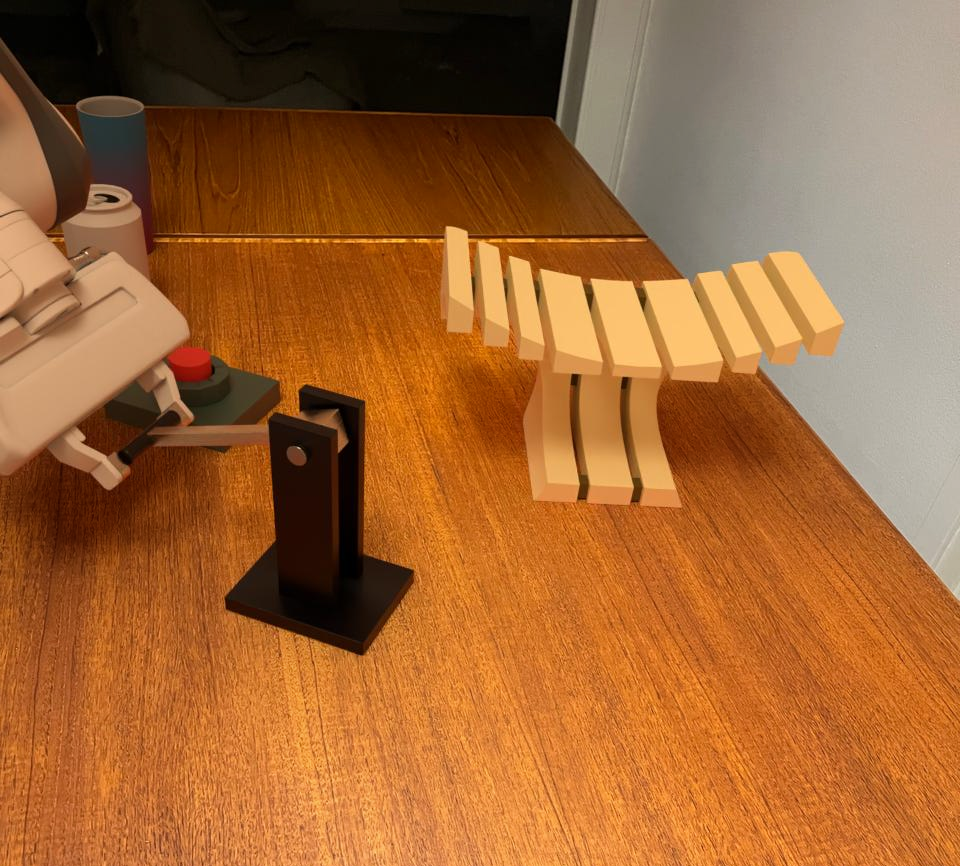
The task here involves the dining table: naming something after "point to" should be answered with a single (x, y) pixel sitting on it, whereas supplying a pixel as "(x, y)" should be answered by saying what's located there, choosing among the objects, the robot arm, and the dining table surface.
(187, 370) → the button
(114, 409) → the box
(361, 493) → the bracket
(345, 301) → the dining table surface
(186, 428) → the lever
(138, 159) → the cup
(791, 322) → the slatted curved stool
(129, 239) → the can
